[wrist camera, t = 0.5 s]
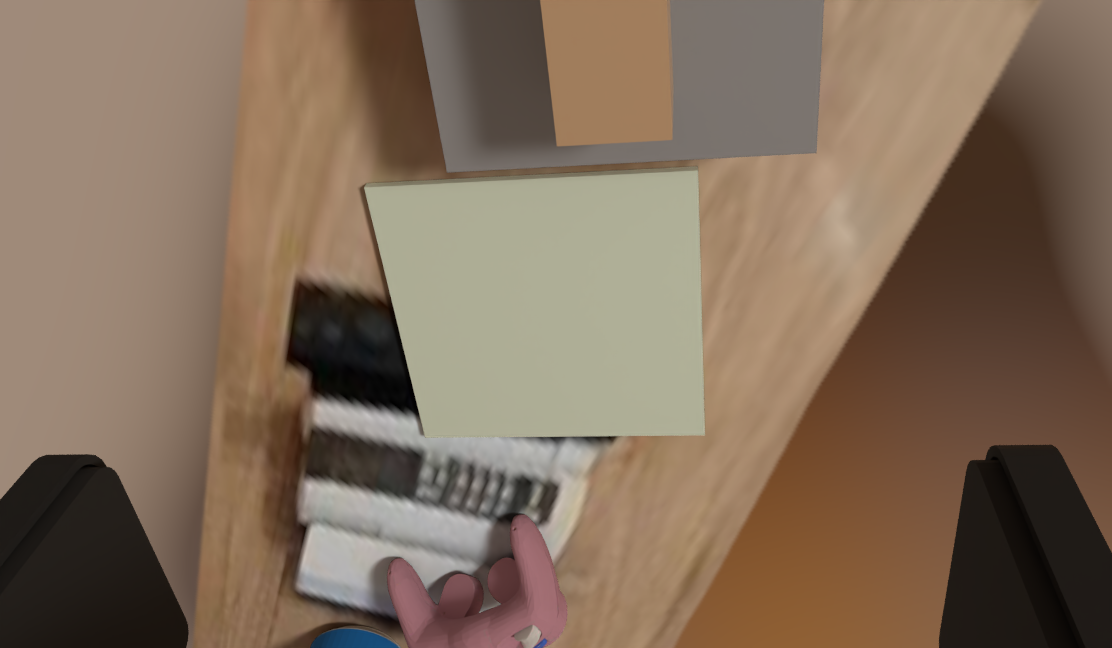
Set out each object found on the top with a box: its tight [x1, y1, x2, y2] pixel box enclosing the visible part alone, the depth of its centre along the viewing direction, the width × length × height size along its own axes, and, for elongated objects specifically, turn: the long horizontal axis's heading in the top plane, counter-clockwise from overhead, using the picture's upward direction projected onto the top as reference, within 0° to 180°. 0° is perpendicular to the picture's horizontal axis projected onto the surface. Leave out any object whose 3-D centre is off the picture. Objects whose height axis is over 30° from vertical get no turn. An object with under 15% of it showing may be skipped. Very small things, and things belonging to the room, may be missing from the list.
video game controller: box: [387, 514, 567, 648], centre depth 51 cm, size 10×5×7 cm, turn 121°
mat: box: [364, 166, 705, 438], centre depth 43 cm, size 14×14×1 cm
